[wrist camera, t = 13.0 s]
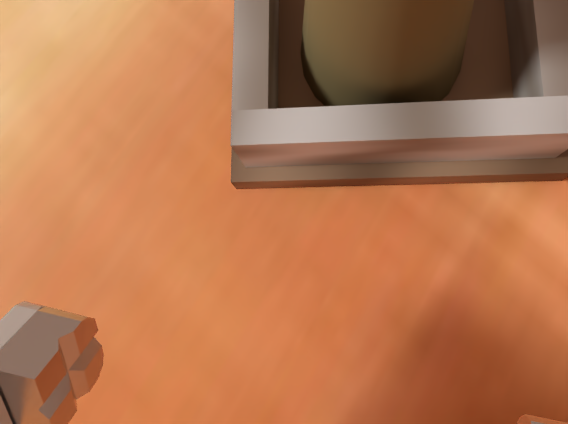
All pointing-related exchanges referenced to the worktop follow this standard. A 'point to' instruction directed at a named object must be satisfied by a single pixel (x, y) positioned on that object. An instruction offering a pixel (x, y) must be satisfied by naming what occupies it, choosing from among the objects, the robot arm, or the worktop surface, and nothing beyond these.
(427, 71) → the cork
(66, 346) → the robot arm
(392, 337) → the worktop surface
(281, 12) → the socket mount
